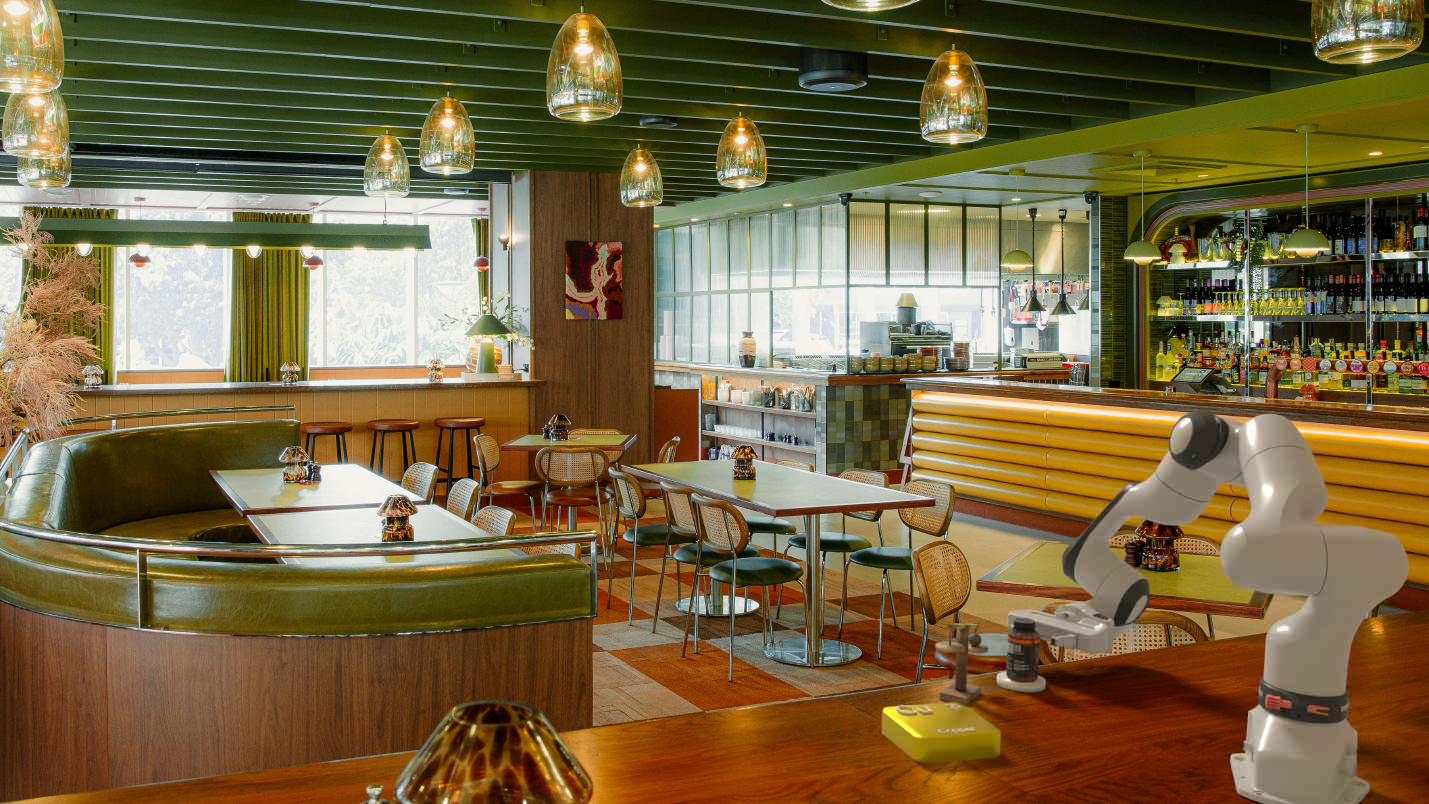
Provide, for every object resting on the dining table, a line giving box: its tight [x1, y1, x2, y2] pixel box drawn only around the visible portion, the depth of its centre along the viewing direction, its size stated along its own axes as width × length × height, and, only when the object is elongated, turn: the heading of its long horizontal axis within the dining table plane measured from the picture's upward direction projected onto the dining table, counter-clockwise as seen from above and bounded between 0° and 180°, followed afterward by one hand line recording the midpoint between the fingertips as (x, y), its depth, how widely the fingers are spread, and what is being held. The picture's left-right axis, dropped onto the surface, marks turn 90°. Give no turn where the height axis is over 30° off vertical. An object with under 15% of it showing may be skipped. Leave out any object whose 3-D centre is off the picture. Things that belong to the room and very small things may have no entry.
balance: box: [934, 623, 989, 706], centre depth 199 cm, size 19×5×15 cm, turn 148°
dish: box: [996, 671, 1047, 693], centre depth 207 cm, size 9×9×1 cm
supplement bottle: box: [1005, 618, 1041, 682], centre depth 207 cm, size 6×6×11 cm
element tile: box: [881, 701, 1002, 764], centre depth 176 cm, size 15×15×5 cm
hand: (1032, 636), depth 209 cm, fingers open, 8 cm apart
